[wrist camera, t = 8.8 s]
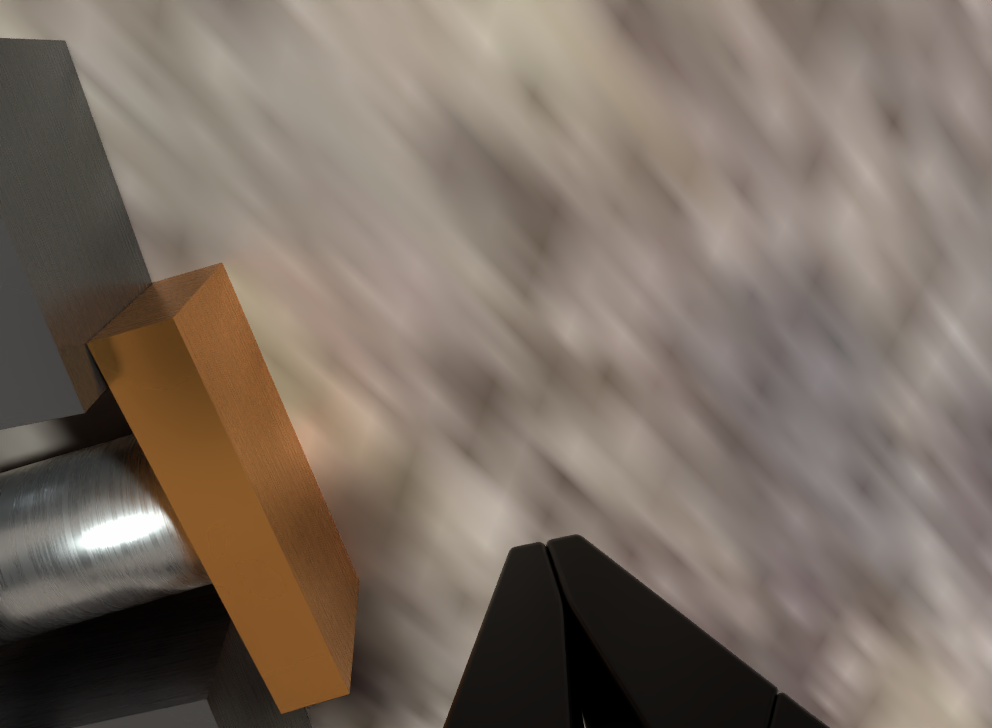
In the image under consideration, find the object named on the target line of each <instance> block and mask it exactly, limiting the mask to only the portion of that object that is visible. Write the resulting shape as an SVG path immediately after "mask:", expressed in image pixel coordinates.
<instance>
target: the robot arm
mask: <svg viewBox="0 0 992 728" xmlns="http://www.w3.org/2000/svg"><path fill="white" fill-rule="evenodd" d="M583 720H584V722H583ZM584 724H585V727H586V728H830V727H828V726H827V725H826V724H824V723H823V722H822V721H820V720H819V719H817V718H816V717H815V716H813V715H812V714H811V713H809V712H808V711H807V710H806V709H804V708H803V707H802V706H800V705H799V704H798V703H797V702H795V701H794V700H793V699H791V698H790V697H789V696H788V695H786V694H785V693H779V691H778V689H777V687H775V686H774V685H773V684H772V683H770V682H769V681H768V680H766V679H765V678H764V677H763V676H761V675H760V674H759V673H757V672H756V671H755V670H754V669H752V668H751V667H750V666H748V665H747V664H746V663H745V662H743V661H742V660H741V659H739V658H738V657H737V656H736V655H734V654H733V653H732V652H730V651H729V650H728V649H727V648H725V647H724V646H723V645H721V644H720V643H719V642H718V641H716V640H715V639H714V638H712V637H711V636H710V635H709V634H707V633H706V632H705V631H703V630H702V629H701V628H699V627H698V626H697V625H696V624H694V623H693V622H692V621H690V620H689V619H688V618H687V617H685V616H684V615H683V614H681V613H680V612H679V611H678V610H676V609H675V608H674V607H672V606H671V605H670V604H669V603H667V602H666V601H665V600H663V599H662V598H661V597H660V596H658V595H657V594H656V593H654V592H653V591H652V590H651V589H649V588H648V587H647V586H645V585H644V584H643V583H642V582H640V581H639V580H638V579H636V578H635V577H634V576H633V575H631V574H630V573H629V572H627V571H626V570H625V569H623V568H622V567H621V566H620V565H618V564H617V563H616V562H614V561H613V560H612V559H611V558H609V557H608V556H607V555H605V554H604V553H603V552H602V551H600V550H599V549H598V548H596V547H595V546H594V545H593V544H591V543H590V542H589V541H587V540H586V539H585V538H584V537H582V536H580V535H577V534H575V535H570V536H565V537H560V538H556V539H551V540H549V541H548V542H547V544H546V546H545V545H544V544H543V543H541V542H536V543H531V544H526V545H521V546H517V547H513V548H512V549H511V550H510V551H509V553H508V556H507V558H506V561H505V564H504V566H503V569H502V572H501V574H500V577H499V580H498V582H497V585H496V588H495V590H494V593H493V596H492V598H491V601H490V604H489V606H488V609H487V612H486V614H485V617H484V620H483V622H482V625H481V628H480V630H479V633H478V636H477V638H476V641H475V644H474V646H473V649H472V652H471V654H470V657H469V660H468V662H467V665H466V668H465V670H464V673H463V676H462V679H461V681H460V684H459V687H458V689H457V692H456V695H455V697H454V700H453V703H452V705H451V708H450V711H449V713H448V716H447V719H446V721H445V724H444V727H443V728H584Z"/></svg>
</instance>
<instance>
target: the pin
mask: <svg viewBox="0 0 992 728" xmlns="http://www.w3.org/2000/svg"><path fill="white" fill-rule="evenodd" d="M86 344H87V346H88V348H89V350H90V352H91V354H92V355H93V357H94V359H95V361H96V363H97V365H98V367H99V369H100V371H101V373H102V374H103V376H104V378H105V380H106V382H107V384H108V386H109V388H110V390H111V392H112V393H113V395H114V397H115V399H116V401H117V403H118V405H119V407H120V409H121V410H122V412H123V414H124V416H125V418H126V420H127V422H128V424H129V426H130V428H131V429H132V431H133V433H134V434H132V435H128V436H125V437H122V438H118V439H115V440H111V441H108V442H105V443H101V444H98V445H94V446H91V447H88V448H84V449H81V450H77V451H74V452H71V453H67V454H64V455H60V456H57V457H54V458H50V459H47V460H43V461H40V462H37V463H33V464H30V465H26V466H23V467H20V468H16V469H13V470H9V471H6V472H3V473H0V646H1V645H4V644H8V643H11V642H15V641H18V640H21V639H25V638H28V637H32V636H35V635H38V634H42V633H45V632H49V631H52V630H55V629H59V628H62V627H66V626H69V625H72V624H76V623H79V622H83V621H86V620H89V619H93V618H96V617H100V616H103V615H106V614H110V613H113V612H117V611H120V610H123V609H127V608H130V607H134V606H137V605H140V604H144V603H147V602H151V601H154V600H157V599H161V598H164V597H167V596H171V595H174V594H178V593H181V592H184V591H188V590H191V589H195V588H198V587H201V586H205V585H208V584H212V583H213V585H214V587H215V589H216V591H217V593H218V595H219V597H220V598H221V600H222V602H223V604H224V606H225V608H226V610H227V612H228V614H229V616H230V617H231V619H232V621H233V623H234V625H235V627H236V629H237V631H238V633H239V635H240V636H241V638H242V640H243V642H244V644H245V646H246V648H247V650H248V652H249V654H250V655H251V657H252V659H253V661H254V663H255V665H256V667H257V669H258V671H259V673H260V674H261V676H262V678H263V680H264V682H265V684H266V686H267V688H268V690H269V692H270V693H271V695H272V697H273V699H274V701H275V703H276V705H277V707H278V709H279V710H280V712H281V714H283V713H286V712H290V711H293V710H296V709H300V708H303V707H306V706H310V705H313V704H317V703H320V702H323V701H327V700H330V699H334V698H337V697H340V696H344V695H347V694H349V693H350V682H351V670H352V659H353V647H354V636H355V624H356V612H357V601H358V589H359V580H358V578H357V575H356V573H355V571H354V568H353V566H352V564H351V561H350V559H349V557H348V554H347V552H346V550H345V547H344V545H343V543H342V540H341V538H340V536H339V533H338V531H337V529H336V526H335V524H334V522H333V519H332V517H331V515H330V513H329V510H328V508H327V506H326V503H325V501H324V499H323V496H322V494H321V492H320V489H319V487H318V485H317V482H316V480H315V478H314V475H313V473H312V471H311V468H310V466H309V464H308V461H307V459H306V457H305V454H304V452H303V450H302V447H301V445H300V443H299V440H298V438H297V436H296V433H295V431H294V429H293V426H292V424H291V422H290V419H289V417H288V415H287V412H286V410H285V408H284V405H283V403H282V401H281V398H280V396H279V394H278V391H277V389H276V387H275V384H274V382H273V380H272V377H271V375H270V373H269V370H268V368H267V366H266V363H265V361H264V359H263V356H262V354H261V352H260V349H259V347H258V345H257V342H256V340H255V338H254V335H253V333H252V331H251V328H250V326H249V324H248V321H247V319H246V317H245V314H244V312H243V310H242V307H241V305H240V303H239V300H238V298H237V296H236V293H235V291H234V289H233V286H232V284H231V282H230V279H229V277H228V275H227V272H226V270H225V268H224V266H223V263H219V264H215V265H212V266H208V267H205V268H202V269H198V270H195V271H191V272H188V273H185V274H181V275H178V276H174V277H171V278H168V279H164V280H161V281H157V282H154V283H153V284H152V285H151V286H150V287H148V288H147V289H146V290H145V291H144V292H143V293H142V294H141V295H140V296H138V297H137V298H136V299H135V300H134V301H133V302H132V303H131V304H130V305H128V306H127V307H126V308H125V309H124V310H123V311H122V312H121V313H120V314H119V315H117V316H116V317H115V318H114V319H113V320H112V321H111V322H110V323H109V324H107V325H106V326H105V327H104V328H103V329H102V330H101V331H100V332H99V333H98V334H96V335H95V336H94V337H93V338H92V339H91V340H90V341H89V342H88V343H86Z"/></svg>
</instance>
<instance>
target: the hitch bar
mask: <svg viewBox="0 0 992 728" xmlns="http://www.w3.org/2000/svg"><path fill="white" fill-rule="evenodd" d="M151 285H152V282H151V279H150V276H149V273H148V270H147V268H146V265H145V262H144V259H143V257H142V254H141V251H140V248H139V245H138V243H137V240H136V237H135V234H134V231H133V229H132V226H131V223H130V220H129V217H128V215H127V212H126V209H125V206H124V204H123V201H122V198H121V195H120V192H119V190H118V187H117V184H116V181H115V178H114V176H113V173H112V170H111V167H110V164H109V162H108V159H107V156H106V153H105V151H104V148H103V145H102V142H101V139H100V137H99V134H98V131H97V128H96V125H95V123H94V120H93V117H92V114H91V112H90V109H89V106H88V103H87V100H86V98H85V95H84V92H83V89H82V86H81V84H80V81H79V78H78V75H77V72H76V70H75V67H74V64H73V61H72V59H71V56H70V53H69V50H68V47H67V45H66V42H65V41H61V40H36V39H10V38H0V430H1V429H6V428H11V427H16V426H22V425H27V424H32V423H37V422H42V421H47V420H52V419H57V418H63V417H68V416H73V415H78V414H83V413H85V412H86V411H87V410H88V409H89V408H90V407H91V405H92V404H93V403H94V402H95V401H96V400H97V399H98V398H99V396H100V395H101V394H102V393H103V392H104V391H105V390H106V389H107V387H108V384H107V382H106V380H105V378H104V376H103V374H102V373H101V371H100V369H99V367H98V365H97V363H96V361H95V359H94V357H93V355H92V354H91V352H90V350H89V348H88V346H87V344H86V343H88V342H89V341H90V340H91V339H92V338H93V337H94V336H95V335H96V334H98V333H99V332H100V331H101V330H102V329H103V328H104V327H105V326H106V325H107V324H109V323H110V322H111V321H112V320H113V319H114V318H115V317H116V316H117V315H119V314H120V313H121V312H122V311H123V310H124V309H125V308H126V307H127V306H128V305H130V304H131V303H132V302H133V301H134V300H135V299H136V298H137V297H138V296H140V295H141V294H142V293H143V292H144V291H145V290H146V289H147V288H148V287H150V286H151ZM0 728H311V725H310V722H309V719H308V717H307V714H306V711H305V708H304V707H303V708H300V709H296V710H293V711H290V712H286V713H283V714H281V712H280V710H279V709H278V707H277V705H276V703H275V701H274V699H273V697H272V695H271V693H270V692H269V690H268V688H267V686H266V684H265V682H264V680H263V678H262V676H261V674H260V673H259V671H258V669H257V667H256V665H255V663H254V661H253V659H252V657H251V655H250V654H249V652H248V650H247V648H246V646H245V644H244V642H243V640H242V638H241V636H240V635H239V633H238V631H237V629H236V627H235V625H234V623H233V621H232V619H231V617H230V616H229V614H228V612H227V610H226V608H225V606H224V604H223V602H222V600H221V598H220V597H219V595H218V593H217V591H216V589H215V587H214V585H213V583H212V584H208V585H205V586H201V587H198V588H195V589H191V590H188V591H184V592H181V593H178V594H174V595H171V596H167V597H164V598H161V599H157V600H154V601H151V602H147V603H144V604H140V605H137V606H134V607H130V608H127V609H123V610H120V611H117V612H113V613H110V614H106V615H103V616H100V617H96V618H93V619H89V620H86V621H83V622H79V623H76V624H72V625H69V626H66V627H62V628H59V629H55V630H52V631H49V632H45V633H42V634H38V635H35V636H32V637H28V638H25V639H21V640H18V641H15V642H11V643H8V644H4V645H1V646H0Z"/></svg>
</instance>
